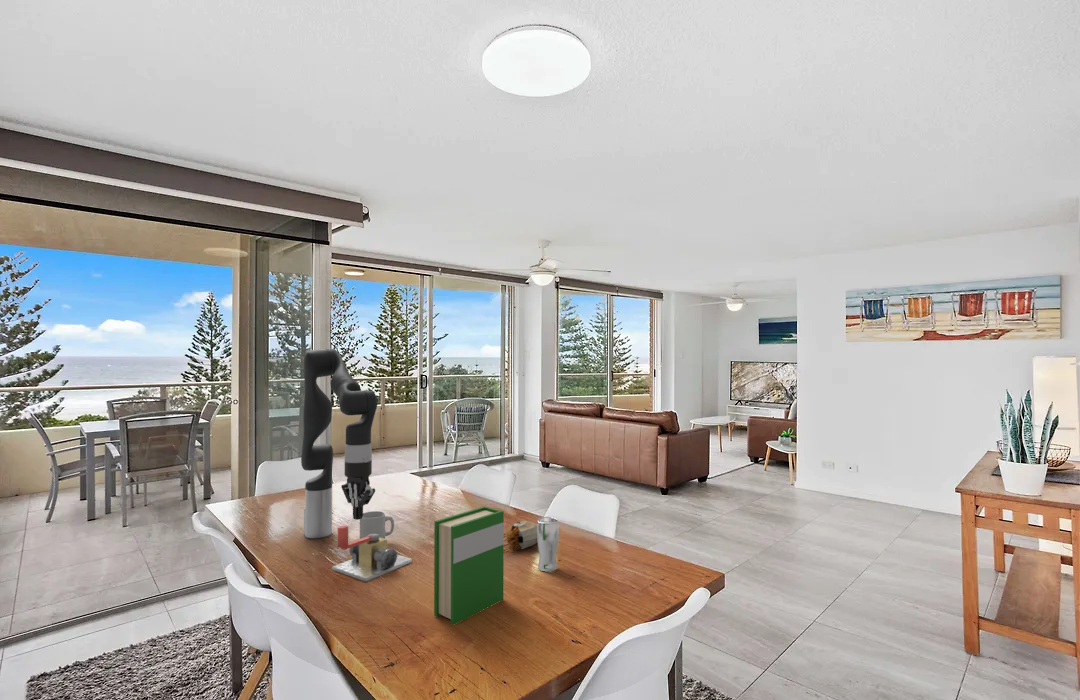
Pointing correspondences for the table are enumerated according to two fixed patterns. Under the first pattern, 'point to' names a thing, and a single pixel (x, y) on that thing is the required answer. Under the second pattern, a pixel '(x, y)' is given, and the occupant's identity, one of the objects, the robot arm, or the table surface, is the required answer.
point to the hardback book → (468, 562)
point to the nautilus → (521, 535)
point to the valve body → (371, 560)
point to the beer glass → (547, 543)
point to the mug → (375, 524)
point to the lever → (344, 541)
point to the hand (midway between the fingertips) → (357, 518)
